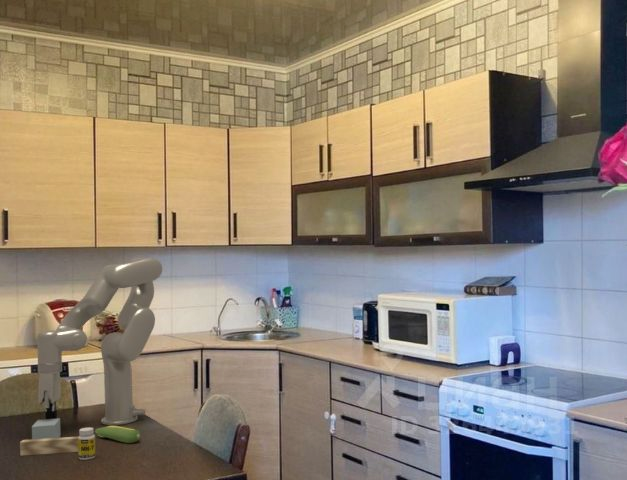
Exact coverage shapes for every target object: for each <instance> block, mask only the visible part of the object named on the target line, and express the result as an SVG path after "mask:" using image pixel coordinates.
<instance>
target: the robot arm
mask: <svg viewBox="0 0 627 480" xmlns="http://www.w3.org/2000/svg"><path fill="white" fill-rule="evenodd" d="M162 272H163V265H162V263H161V261H160V260H159V259H157V258H155V257H135V258H132V259H130V260H129V262H126V263H120V264H119V263H118V264H117V263H116V264H115V263H114V264H107V265H105V266H104V267H103V268H102V269H101V271H100V272H99V274H98V275H97V277H96V278H95V279H94V281H93V283H92V284H91V285H90V287H89V289H88V290H87V292H86V293H85V295H84V296H82V297H83V298H82V299H80V300H79V301H78V302H76V303H77V304H75V305H74V306H73V307H71V309H70V310H69V311H68V312H67V313H66V314H65V316H64V317H63V319H62V320H61V322H60V323H59V325H58V326H57V328H56V330H54V329H53V330H43V331H39V332H38V333H37V336H36V337H37V339H36V341H37V342H36V343H37V344H36V345H37V346H36V347H37V374H39V377H38V398H37V399H38V404H39V405H42V404H43V403H44V405H43V406H44V410H45V411H44V412H45V419H57V418H58V411H57V409H58V408H57V407H58V400H59V399H61V396H62V395H61V394H62V389H61V387H62V385H61V372H63V356H62V353H63V352H64V351H65V352H67V351H70V352H74V351H75V352H76V351H79V350H81V349H83V348H84V347H85V346H86V344H87V343H88V336H87V334H86V333H85V332H84V331H83V330H81V329H82V328H83V327H84V326H85V325H86V323H87V322H88V321H90V320H91V319H92V318H94V317H97V316H98V315H100V314H101V313H103V312H104V311H106V309H107V307H108V305H110V303H111V301H112V300H113V297H115V295H116V293H117V292H118V291H119V289H126V288H127V289H128V288H130V292H129V295H128V297H127V299H126V301H125V303H124V305H123V307H122V308H121V311H120V312H119V314H118V317H117V325H118V327H119V328H120V329H121V330H123V332H119V331H117V332H111V333H108V334H107V335H106V336H105V337H104V338H103V339H102V341H101V345H100V352H101V353H100V354H101V357H102V362H103V374H104V375H103V376H104V378H103V379H104V380H103V382H104V407H105V410H104V413H105V414H104V415H105V416H104V417H102V418H101V420H100V423H101V424H103V425H106V426H119V425H126V424H131V423H134V422H136V421H137V420H138V419H139V418H138V416H145V415H146V409H145V408H144V409H143V408H136V405H134V404H133V402H134V401H133V374H132V373H133V371H132V364H131V362H133V361H135V360H136V359H138V358H139V357H140V356H141V354H142V352H143V351H144V348H145V346H146V345H147V343H148V341H149V338H150V336H151V334H152V332H153V330H154V327H155V324H156V317H155V313H154V312H153V310H152V309H151V308H150V306H151V304H152V302H153V298H154V297H155V296H154V295H155V286H154V285H155V284H154V281H156V280H157V279H159V278H160V276H161V275H162Z"/></svg>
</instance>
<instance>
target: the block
mask: <svg viewBox="0 0 627 480" xmlns="http://www.w3.org/2000/svg"><path fill="white" fill-rule="evenodd" d="M47 438H61V418H60V417H59V418H58V417H57V419H46V418H45V419H37V421H35V422H34V423H33V424H32V426H31V439H47Z"/></svg>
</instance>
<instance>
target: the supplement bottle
mask: <svg viewBox="0 0 627 480" xmlns="http://www.w3.org/2000/svg"><path fill="white" fill-rule="evenodd" d="M78 432H79V436H77V437H78V452H77V454H78V459H79V460H83V461H86V460H92V459H94V458H95V457H96V435H95V434H94V432H95V430H94V427H81V428H80V429H79V431H78Z"/></svg>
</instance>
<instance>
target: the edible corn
mask: <svg viewBox="0 0 627 480" xmlns="http://www.w3.org/2000/svg"><path fill="white" fill-rule="evenodd" d="M94 432H95V433H96V434H97V436H98V437H100V438H104V439H105V438H106V439H110V440H114V441H117V442H120V443H121V442H122V443H125V444H133V443H135V442H138V441H140V438H141V433H140V432H139V430H138V429H137V428H135V427H131V426H123V425H122V426H119V425H106V426H105V427H103V426H102V427H99V428H96V429H95V430H94Z"/></svg>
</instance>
